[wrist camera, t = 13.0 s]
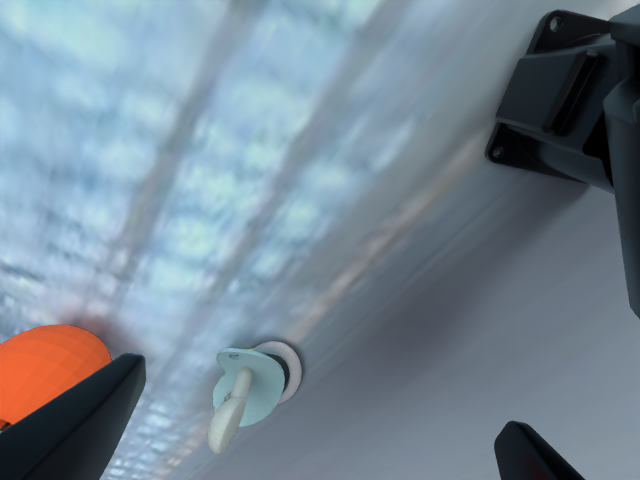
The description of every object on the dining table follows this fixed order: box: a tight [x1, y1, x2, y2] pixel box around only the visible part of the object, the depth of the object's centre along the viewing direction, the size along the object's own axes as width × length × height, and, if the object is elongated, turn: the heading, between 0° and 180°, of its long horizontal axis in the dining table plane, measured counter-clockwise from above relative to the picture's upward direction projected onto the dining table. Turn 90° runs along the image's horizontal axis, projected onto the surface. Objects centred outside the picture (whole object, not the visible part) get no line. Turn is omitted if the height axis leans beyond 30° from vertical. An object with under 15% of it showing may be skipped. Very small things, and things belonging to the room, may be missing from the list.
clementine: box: [0, 325, 112, 433], centre depth 21 cm, size 8×7×7 cm
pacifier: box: [207, 341, 302, 455], centre depth 22 cm, size 7×6×6 cm
